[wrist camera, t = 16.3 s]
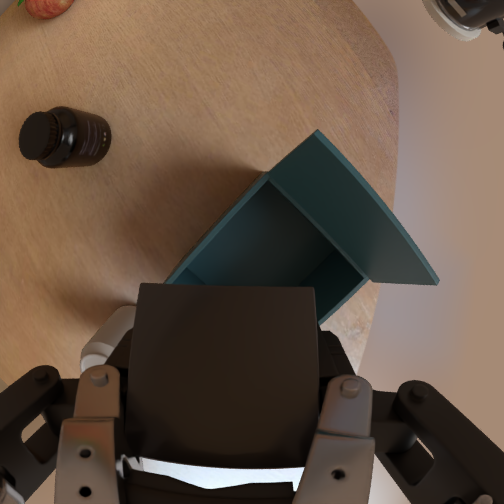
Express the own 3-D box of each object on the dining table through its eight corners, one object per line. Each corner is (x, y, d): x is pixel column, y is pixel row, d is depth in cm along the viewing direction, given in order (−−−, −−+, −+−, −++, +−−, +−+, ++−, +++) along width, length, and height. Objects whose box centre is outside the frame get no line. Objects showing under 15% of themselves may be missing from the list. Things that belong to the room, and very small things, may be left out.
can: (104, 317, 37) (64, 363, 26) (136, 293, 36) (96, 339, 25) (137, 355, 39) (107, 408, 27) (171, 334, 38) (146, 391, 26)
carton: (263, 171, 32) (267, 171, 22) (339, 247, 34) (371, 278, 24) (178, 262, 35) (151, 298, 25) (255, 327, 37) (255, 378, 27)
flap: (266, 173, 21) (270, 169, 21) (372, 282, 23) (375, 278, 24) (313, 133, 14) (317, 128, 14) (437, 285, 16) (440, 279, 17)
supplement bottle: (69, 166, 31) (9, 171, 20) (75, 117, 30) (16, 105, 18) (110, 167, 32) (53, 169, 20) (117, 114, 30) (62, 95, 18)
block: (280, 346, 16) (314, 285, 8) (281, 432, 13) (320, 466, 5) (193, 344, 16) (139, 281, 8) (189, 428, 13) (123, 454, 5)
